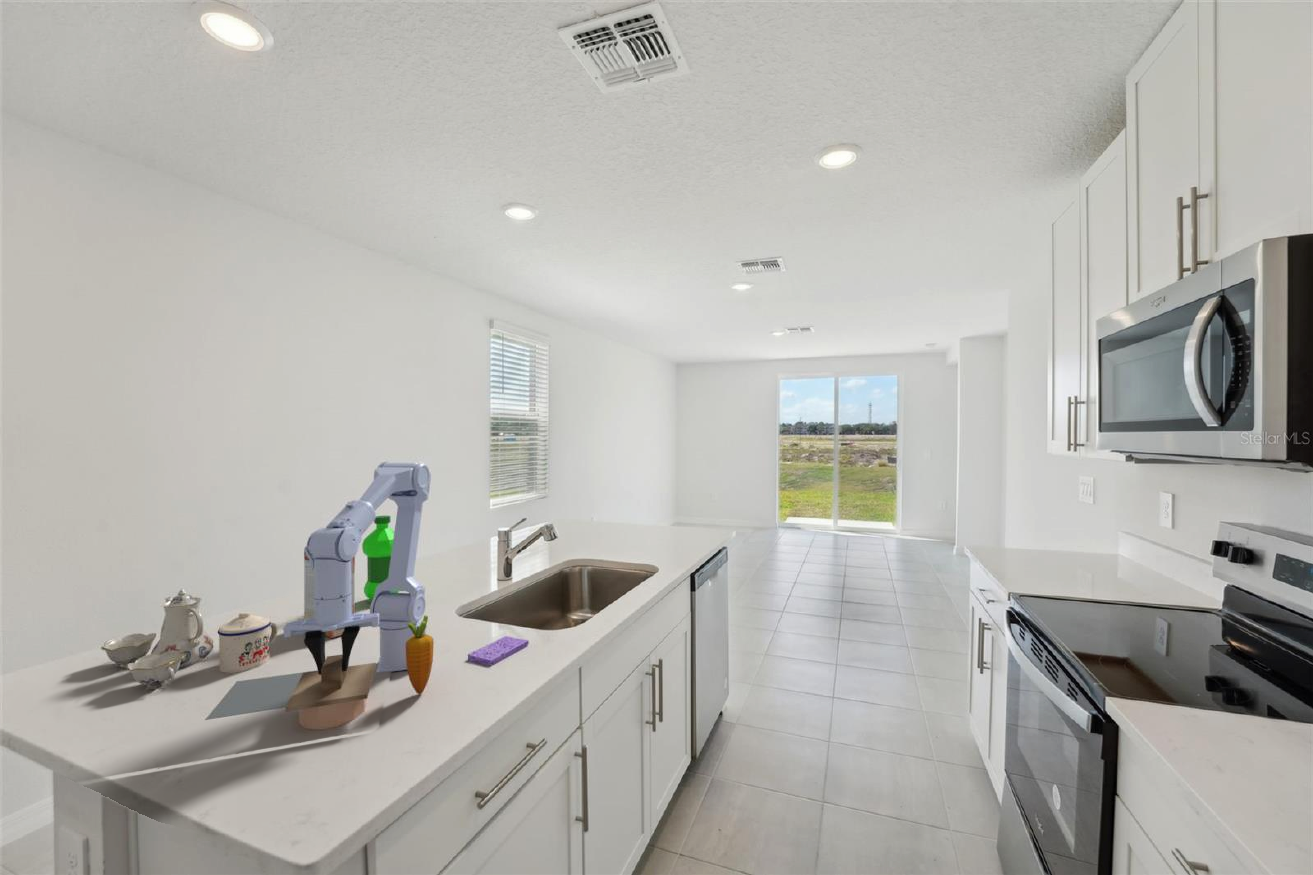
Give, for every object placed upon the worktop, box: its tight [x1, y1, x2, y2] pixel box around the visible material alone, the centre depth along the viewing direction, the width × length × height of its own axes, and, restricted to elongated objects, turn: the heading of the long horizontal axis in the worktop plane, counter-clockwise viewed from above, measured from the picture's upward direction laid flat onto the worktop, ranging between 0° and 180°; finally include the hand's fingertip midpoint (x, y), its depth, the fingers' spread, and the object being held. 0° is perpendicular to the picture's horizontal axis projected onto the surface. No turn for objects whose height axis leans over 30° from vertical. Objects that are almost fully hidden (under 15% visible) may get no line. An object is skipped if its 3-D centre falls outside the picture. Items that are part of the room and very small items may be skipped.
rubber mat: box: [205, 669, 318, 721], centre depth 104 cm, size 15×15×1 cm
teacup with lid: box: [217, 610, 279, 674], centre depth 117 cm, size 12×9×12 cm
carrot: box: [406, 614, 434, 695], centre depth 104 cm, size 5×5×15 cm
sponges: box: [467, 635, 530, 667], centre depth 124 cm, size 7×13×2 cm, turn 154°
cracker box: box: [303, 547, 356, 639], centre depth 136 cm, size 14×6×21 cm, turn 58°
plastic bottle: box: [361, 515, 400, 601], centre depth 160 cm, size 10×10×25 cm
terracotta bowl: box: [298, 699, 367, 730], centre depth 96 cm, size 10×10×4 cm
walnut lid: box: [284, 654, 377, 712], centre depth 96 cm, size 12×12×5 cm
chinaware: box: [100, 588, 215, 690], centre depth 114 cm, size 28×17×17 cm, turn 63°
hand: (333, 670), depth 96 cm, fingers closed on walnut lid, 3 cm apart
